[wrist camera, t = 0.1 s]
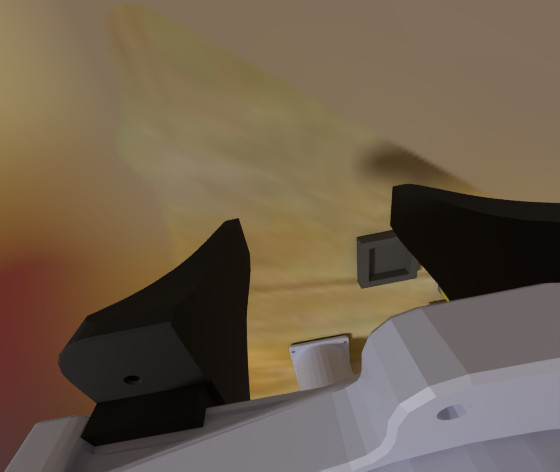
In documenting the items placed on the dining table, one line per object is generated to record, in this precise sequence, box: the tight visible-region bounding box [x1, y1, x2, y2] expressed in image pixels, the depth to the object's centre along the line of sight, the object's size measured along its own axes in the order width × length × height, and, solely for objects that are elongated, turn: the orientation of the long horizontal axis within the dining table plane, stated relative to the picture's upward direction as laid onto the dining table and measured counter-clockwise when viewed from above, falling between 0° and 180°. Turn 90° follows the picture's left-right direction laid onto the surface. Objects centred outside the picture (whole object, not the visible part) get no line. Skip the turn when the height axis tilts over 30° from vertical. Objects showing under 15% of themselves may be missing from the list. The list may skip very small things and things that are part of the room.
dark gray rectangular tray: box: [357, 230, 419, 289], centre depth 25 cm, size 6×6×1 cm
